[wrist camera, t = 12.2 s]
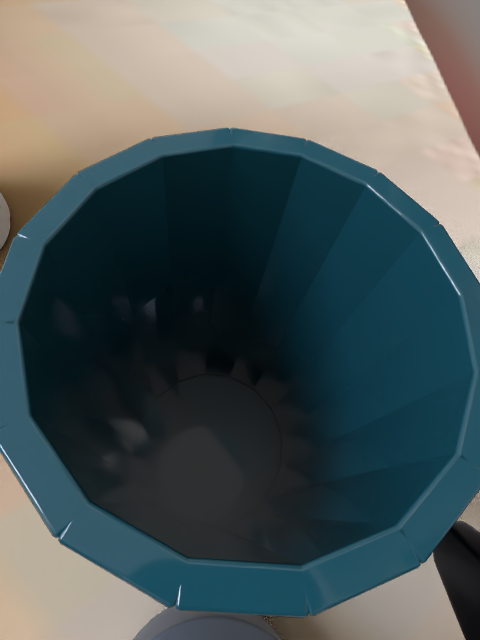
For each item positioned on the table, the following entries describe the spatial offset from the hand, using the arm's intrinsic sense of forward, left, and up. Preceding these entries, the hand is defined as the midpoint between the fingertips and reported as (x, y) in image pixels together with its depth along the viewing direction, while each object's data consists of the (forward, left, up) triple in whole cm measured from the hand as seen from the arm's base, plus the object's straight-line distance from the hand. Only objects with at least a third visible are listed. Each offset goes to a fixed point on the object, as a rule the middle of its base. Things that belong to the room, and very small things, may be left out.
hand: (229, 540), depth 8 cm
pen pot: (+2, -2, -9) cm, 9 cm away
